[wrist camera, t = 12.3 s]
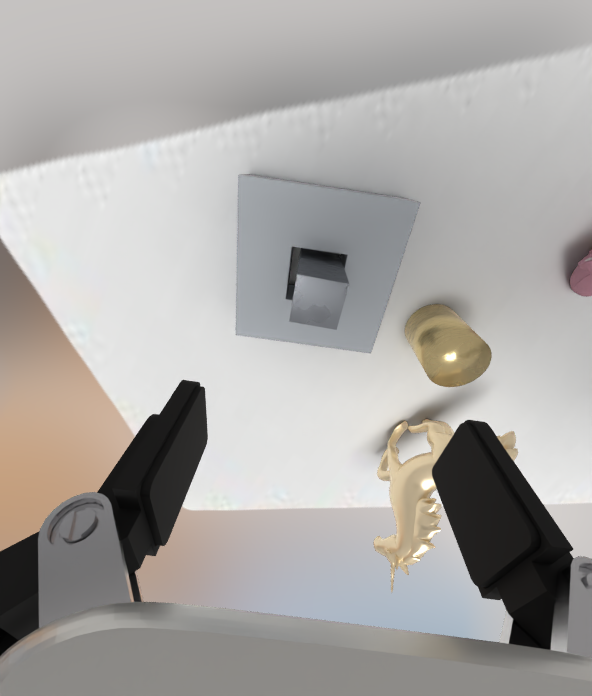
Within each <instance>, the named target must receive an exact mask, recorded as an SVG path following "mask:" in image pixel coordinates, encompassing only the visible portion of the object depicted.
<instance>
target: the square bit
mask: <svg viewBox="0 0 592 696" xmlns="http://www.w3.org/2000/svg"><path fill="white" fill-rule="evenodd" d="M348 288H349V281H348V278H347V275H346V272H345V269H344V266H343V263H342V260H341V257H340V254H339V253H333V252H326V251H319V250H312V249H305V248H301V250H300V256H299V262H298V267H297V273H296V279H295V286H294V292H293V299H292V305H291V312H290V319H289V322H294V323H300V324H306V325H311V326H317V327H323V328H329V329H334V330H337V327H338V323H339V320H340V316H341V312H342V309H343V305H344V302H345V298H346V295H347V291H348Z"/></svg>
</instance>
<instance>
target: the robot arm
mask: <svg viewBox="0 0 592 696" xmlns="http://www.w3.org/2000/svg"><path fill="white" fill-rule="evenodd" d="M207 438H208V434H207V417H206V400H205V388H204V387H200V383H199V382H194V381H187V380H182V381H181V382H180V384H179V385H178V387H177V388H176V390H175V391H174V393H173V394H172V396H171V398H170V399H169V401H168V402H167V404H166V405H165V407H164V408H163V410H162V412H161V413H160V415H158V414H152V415H151V416H150V417H149V418H148V419H147V420H146V422H145V423H144V425H143V426H142V428H141V429H140V430H139V432H138V433H137V435H136V436H135V438H134V439H133V441H132V442H131V444H130V445H129V447H128V448H127V450H126V451H125V452H124V454H123V455H122V457H121V458H120V460H119V461H118V463H117V464H116V466H115V467H114V469H113V470H112V472H111V473H110V474H109V476H108V477H107V479H106V480H105V482H104V483H103V485H102V486H101V488H100V489H99V491H98V492H97V493H96V492H90V493H83V494H80V495H77V496H74V497H72V498H70V499H68V500H66V501H65V502H63V503H62V504H60V505H59V506H58V507H57V508H56V509H54V510H53V511H52V512H51V514H50V515H49V516H48V517H47V518H46V519H45V521H44V523H43V525H42V527H41V528H40V531H39V532H37V533H35V534H33V535H31V536H30V537H27V538H26V539H24V540H22V541H20V542H18V543H16V544H14V545H12V546H10V547H8V548H6V549H4V550H3V551H0V696H592V559H590V558H587V557H579V556H578V557H576V558H573V557H572V555H571V554H570V551H572V550H573V548H572V546H571V545H570V543H569V542H568V540H567V539H566V537H565V536H564V534H563V533H562V532H561V530H560V529H559V527H558V526H557V524H556V523H555V521H554V520H553V518H552V517H551V515H550V514H549V512H548V511H547V510H546V508H545V507H544V505H543V504H542V502H541V501H540V499H539V498H538V496H537V495H536V493H535V492H534V491H533V489H532V488H531V486H530V485H529V483H528V482H527V480H526V479H525V477H524V476H523V474H522V473H521V471H520V470H519V469H518V467H517V466H516V464H515V463H514V461H513V460H512V458H511V457H510V455H509V454H508V452H507V451H506V450H505V448H504V447H503V445H502V444H501V442H500V441H499V439H498V438H497V436H496V435H495V433H494V432H493V430H492V429H491V428H490V426H489V425H488V424H487V423H485V422H480V421H473V420H467V421H465V422H464V423H462V424H460V425H459V427H458V429H457V430H456V432H455V433H454V435H453V436H452V438H451V439H450V441H449V443H448V444H447V446H446V447H445V449H444V450H443V452H442V454H441V455H440V457H439V458H438V460H437V461H436V463H435V464H434V466H433V468H432V477H433V480H434V483H435V485H436V488H437V490H438V493H439V496H440V498H441V501H442V504H443V506H444V509H445V511H446V514H447V517H448V519H449V522H450V525H451V527H452V530H453V532H454V535H455V537H456V540H457V543H458V545H459V548H460V551H461V553H462V556H463V559H464V561H465V564H466V566H467V569H468V571H469V574H470V577H471V579H472V581H473V582H474V584H475V585H476V586H478V588H479V591H480V593H481V596H482V598H487V599H495V600H500V599H502V600H503V603H504V605H505V607H506V612H505V617H504V622H503V626H502V631H501V636H500V641H499V642H491V641H483V640H475V639H468V638H460V637H452V636H445V635H437V634H430V633H422V632H413V631H406V630H398V629H390V628H382V627H375V626H366V625H358V624H350V623H342V622H334V621H326V620H318V619H310V618H302V617H293V616H285V615H276V614H268V613H259V612H252V611H243V610H235V609H226V608H216V607H205V606H195V605H186V604H176V603H156V602H144V601H143V597H142V593H141V588H140V584H139V580H138V575H137V571H136V570H138V569H139V568H140V567H141V565H142V562H143V560H144V558H145V556H146V555H151V556H156V554H157V551H158V549H159V547H160V546H164V545H166V543H167V541H168V539H169V537H170V534H171V532H172V529H173V527H174V524H175V522H176V519H177V516H178V514H179V512H180V509H181V507H182V504H183V502H184V499H185V497H186V494H187V492H188V489H189V487H190V484H191V482H192V479H193V477H194V474H195V472H196V469H197V467H198V464H199V462H200V459H201V457H202V454H203V452H204V450H205V447H206V444H207Z"/></svg>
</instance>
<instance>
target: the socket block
mask: <svg viewBox="0 0 592 696" xmlns="http://www.w3.org/2000/svg"><path fill="white" fill-rule="evenodd" d="M420 203H421V202H417V201H414V200H410V199H406V198H401V197H394V196H388V195H381V194H374V193H368V192H361V191H355V190H348V189H342V188H335V187H329V186H322V185H316V184H309V183H303V182H296V181H290V180H283V179H277V178H270V177H263V176H257V175H250V174H242V175H238V234H237V293H236V335H240V336H247V337H254V338H262V339H269V340H276V341H284V342H291V343H298V344H306V345H313V346H320V347H328V348H335V349H342V350H350V351H357V352H364V353H371V352H372V349H373V346H374V343H375V339H376V336H377V333H378V330H379V327H380V324H381V321H382V318H383V315H384V312H385V309H386V306H387V303H388V300H389V297H390V294H391V291H392V288H393V285H394V282H395V279H396V276H397V273H398V270H399V267H400V263H401V260H402V257H403V254H404V251H405V248H406V245H407V242H408V239H409V236H410V233H411V230H412V227H413V224H414V221H415V218H416V215H417V212H418V209H419V206H420ZM293 247H299V248H305V249H312V250H319V251H326V252H333V253H340V254H341V260H342V263H343V266H344V269H345V272H346V275H347V278H348V281H349V288H348V291H347V295H346V298H345V302H344V305H343V309H342V312H341V316H340V320H339V323H338V327H337V330H334V329H329V328H323V327H317V326H311V325H306V324H300V323H294V322H289V319H290V312H291V305H292V299H293V292H294V285H289V277H290V268H291V260H292V252H293Z"/></svg>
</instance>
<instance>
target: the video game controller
mask: <svg viewBox="0 0 592 696" xmlns="http://www.w3.org/2000/svg"><path fill="white" fill-rule="evenodd" d="M570 285H571V288H572V290H573V291H574V292H575V293H577V294H579V295H581V296H592V249H591V250H590V251H589V254H588V255H587V256H586V257H584V258H583V259H582V260H581V261H579V262H578V266H577V267H576V268H575V270H574V271H573V273H572V275H571V278H570Z"/></svg>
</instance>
